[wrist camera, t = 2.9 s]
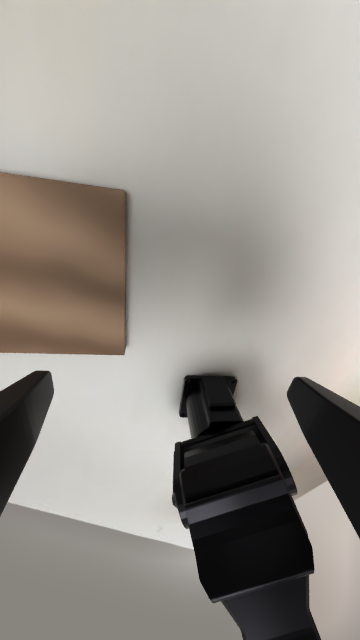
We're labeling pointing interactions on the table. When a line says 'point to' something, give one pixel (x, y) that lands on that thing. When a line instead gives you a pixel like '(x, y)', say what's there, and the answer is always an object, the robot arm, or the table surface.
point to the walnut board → (62, 267)
